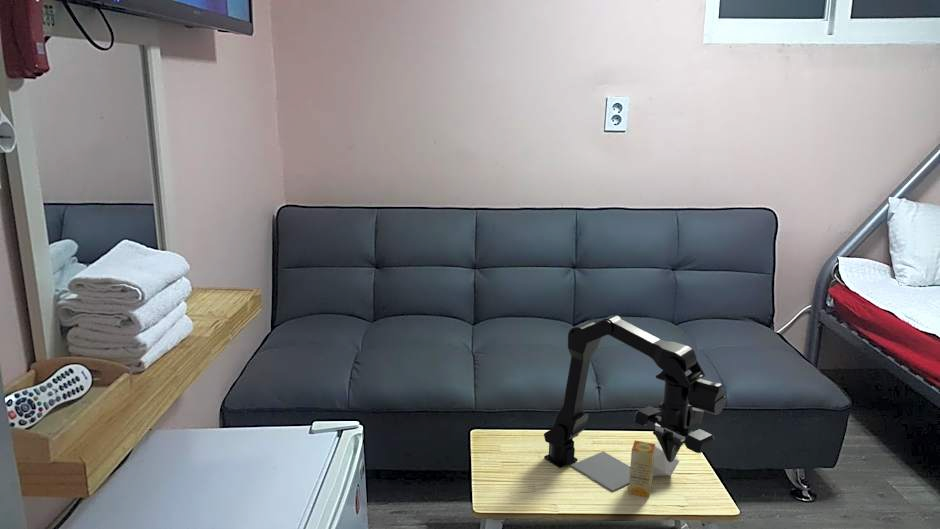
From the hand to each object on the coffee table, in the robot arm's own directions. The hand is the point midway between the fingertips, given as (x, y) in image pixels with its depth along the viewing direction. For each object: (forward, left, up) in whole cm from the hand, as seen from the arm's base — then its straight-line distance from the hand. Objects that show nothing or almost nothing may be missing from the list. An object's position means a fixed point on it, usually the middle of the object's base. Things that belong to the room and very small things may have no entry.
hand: (670, 461), depth 167 cm
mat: (-19, 0, -12) cm, 22 cm away
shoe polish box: (-8, 0, -12) cm, 15 cm away
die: (-11, +10, -12) cm, 19 cm away
